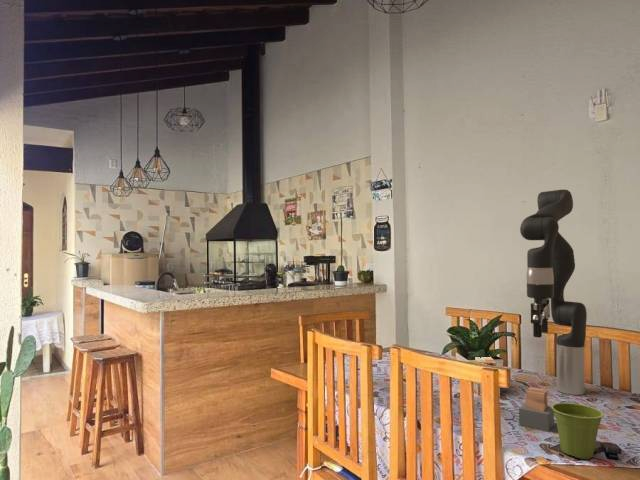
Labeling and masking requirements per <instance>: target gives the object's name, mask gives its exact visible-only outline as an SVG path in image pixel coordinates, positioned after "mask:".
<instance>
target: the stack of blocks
mask: <svg viewBox="0 0 640 480" xmlns="http://www.w3.org/2000/svg"><path fill="white" fill-rule="evenodd" d="M475 360H476V361H477V362H478V363H484V364H487V365H491V366H496V367H497V362H496V361H495V360H494V358H492V357H491V356H490V357H481V358H480V357H475ZM473 388H474V390H475V393H476V395H478V396H481V395H480V384H474V387H473Z"/></svg>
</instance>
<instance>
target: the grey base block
mask: <svg viewBox="0 0 640 480" xmlns="http://www.w3.org/2000/svg"><path fill="white" fill-rule="evenodd" d="M551 406H552V405H548V407H547V408H546V410H545V411H544V412H543V411H538V410H534V409H529V408H526V401H525V402H524V403H523V404H522V405H520V407H518V425H519V426H521V427H522V426H523V427H525V428H530V429H533V430H538V431H544V432H549V431H550V430H551V429H552V427H553V426H555V415H554V410H553V409H552V408H551Z"/></svg>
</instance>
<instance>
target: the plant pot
mask: <svg viewBox="0 0 640 480" xmlns="http://www.w3.org/2000/svg"><path fill="white" fill-rule="evenodd" d="M550 406H551V408H552V409H553V410H554V419H555V421H556V427H557V432H558V433H557V434H558V440H559V445H560V450H562V451H563V452H565V453H567V454H569V455H572V456H571V457H573V456H575V457H577V458H580V459H579V460H590V459H592V458H593V457H594V453H595V448H596V442H597V437H598V430H599V427H600V425H601V421H602V420H601V419H602V418H604V413H603V412H602V411H601V410H599V409H597V408H595V407H592V406H588V405H585V404H580V403H574V402H573V403H571V402H558V403H557V402H556V403H554V404H551V405H550ZM562 451H561V452H562ZM563 452H562V453H563ZM575 457H574V458H575ZM577 458H576V459H577Z"/></svg>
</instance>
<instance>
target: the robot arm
mask: <svg viewBox="0 0 640 480" xmlns="http://www.w3.org/2000/svg"><path fill="white" fill-rule="evenodd" d="M537 208H538V209H537V212H535V213H534V214H530V215H529V216H527V217H525V218H524V219H523V220H522V222H521V224H520V227H519V229H520V230H519V231H520V236H522V238H523V239H525V240H526V241H543V242H544V243H543V244H542V246H539V247H533V248H530V249H528V250H527V252H526V253H527V256H526V260H527V269H526V297H528V298H529V299H534V300H533V302H531V303H530V324H532V326H533V327H532V329H533V332H532V336H533V338H540V339H541V338H542V336H543V334H544V333H545V334H546V333H548V331H549V323H548V322H549V319H550V317H551V319H552V322H553V323H554V324H556V325H558V326H561V327H563V326H564V327H570V328H571V331H570V332H569V333H566V334H561V335H557V336H556V391H558V392H560V393H562V394H566V395H570V396H571V395H574V396H581V395H585V394H586V392H585V391H586V386H585V385H586V380H585V379H586V377H585V376H586V375H585V373H586V369H585V367H586V360H585V359H586V357H585V356H586V354H585V353H586V352H585V348H586V347H585V342H586V336H587V334H586V333H587V319H588V318H587V317H588V316H587V315H588V313H587V308H586V305H585V304H584V303H582V302H579V301H576V302H575V301H568V300H566V301H565V297H564V295H565V294H564V293H565V288H566V285H567V284H568V282H569V280H570V279H571V278H572V276H573V273H574V272H575V269H576V262H575V261H576V260H575V254H574V249H573V247H572V246H571V244H570V243H569V242H568V241H567V240H566V238H565V237H564V236H562V234H561V233H560V232H559V227H560V226H559V221H560V220H562V219H563V218H564V217H566V216H567V215H568V216H569V214H571V212H572V211H573V208H574V200H573V195H572V193H571V191H569V190H568V189H555V190H549V191H548V190H547V191H541V192H539V193H538V195H537Z"/></svg>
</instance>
